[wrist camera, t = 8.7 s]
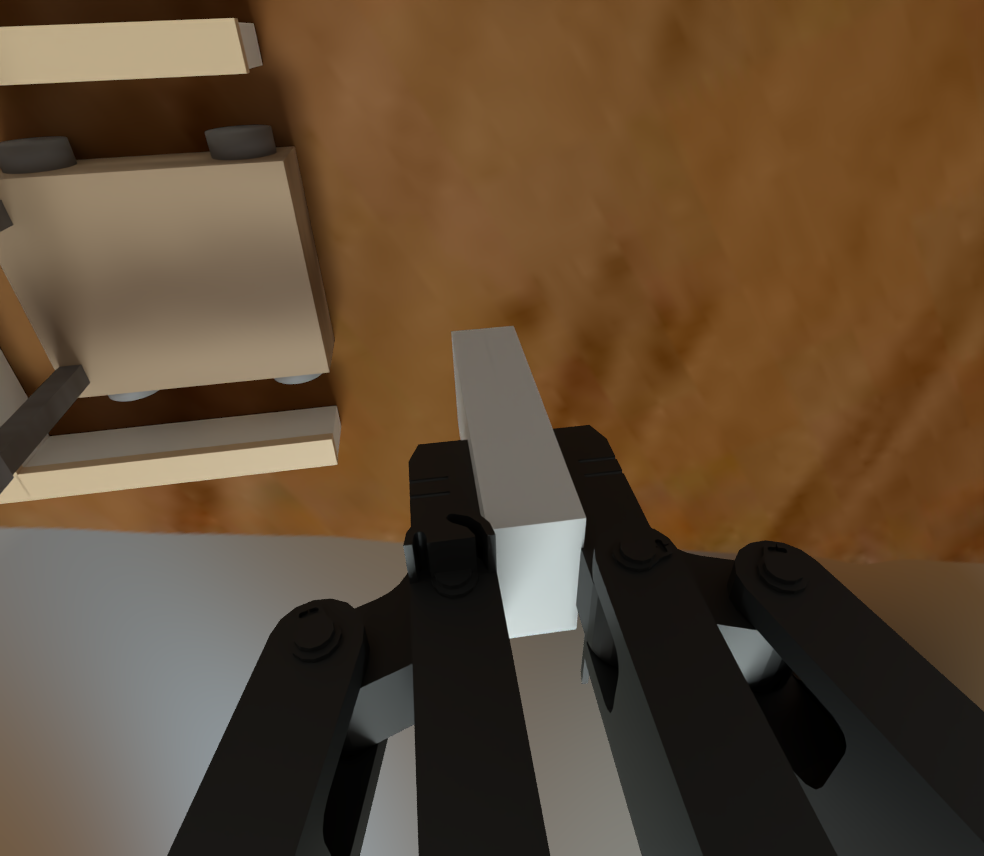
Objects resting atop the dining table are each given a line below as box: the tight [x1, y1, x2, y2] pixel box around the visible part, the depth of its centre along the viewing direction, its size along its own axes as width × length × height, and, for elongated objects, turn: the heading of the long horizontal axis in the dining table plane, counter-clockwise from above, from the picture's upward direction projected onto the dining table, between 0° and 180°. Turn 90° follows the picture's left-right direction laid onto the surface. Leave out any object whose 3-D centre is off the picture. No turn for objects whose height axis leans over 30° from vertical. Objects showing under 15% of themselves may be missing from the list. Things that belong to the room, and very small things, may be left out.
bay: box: [0, 18, 341, 504], centre depth 22 cm, size 17×14×3 cm
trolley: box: [0, 125, 335, 494], centre depth 20 cm, size 10×10×10 cm
